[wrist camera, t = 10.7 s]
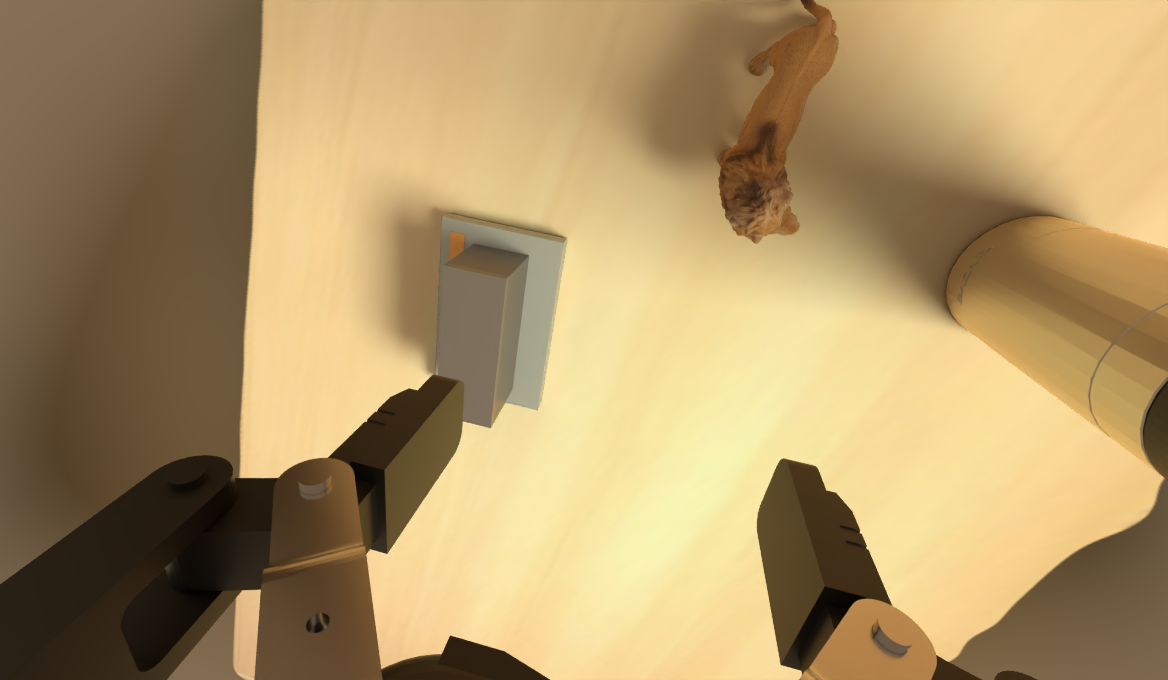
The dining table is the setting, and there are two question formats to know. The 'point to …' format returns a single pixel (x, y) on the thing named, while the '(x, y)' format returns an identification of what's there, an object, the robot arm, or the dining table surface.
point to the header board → (537, 298)
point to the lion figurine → (774, 130)
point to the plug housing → (482, 326)
